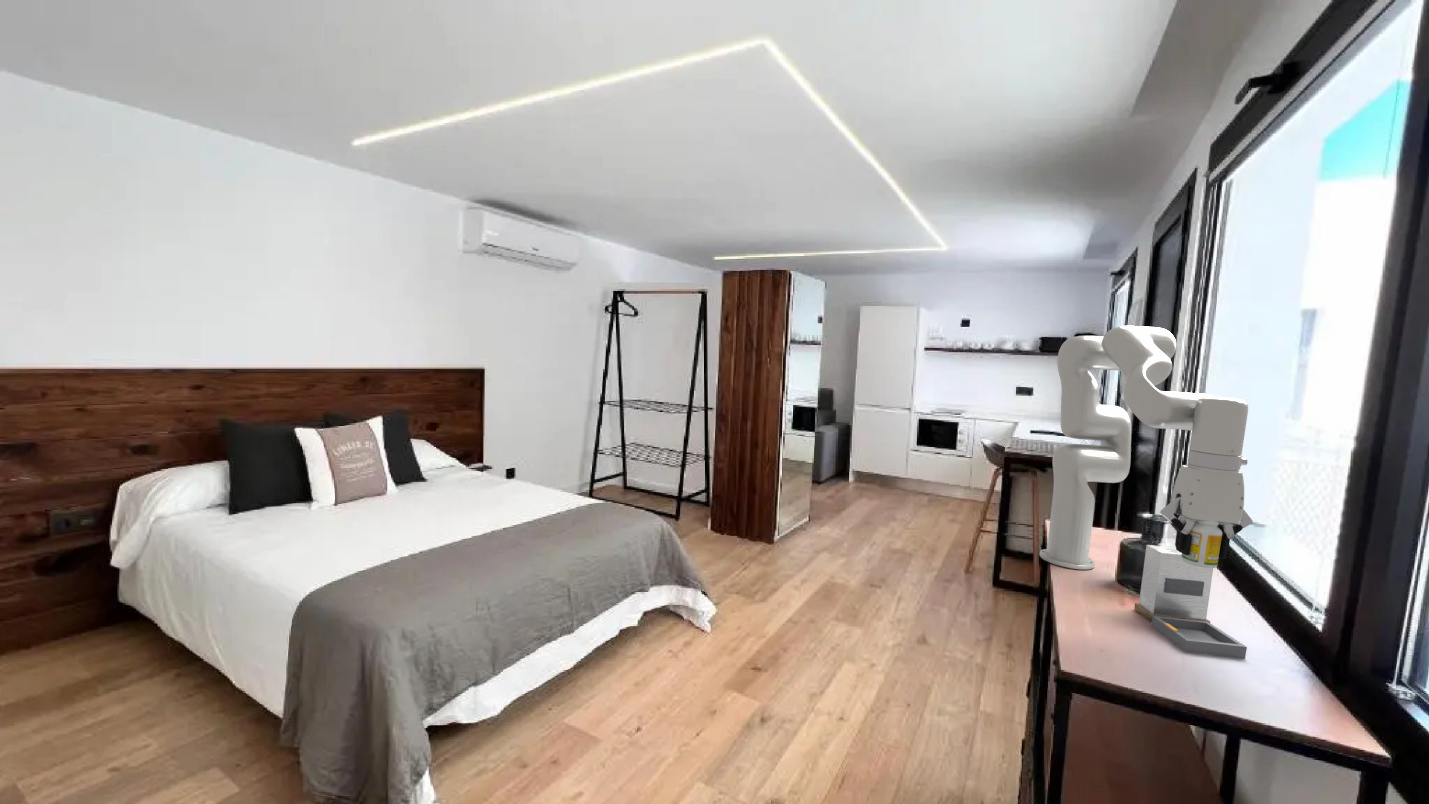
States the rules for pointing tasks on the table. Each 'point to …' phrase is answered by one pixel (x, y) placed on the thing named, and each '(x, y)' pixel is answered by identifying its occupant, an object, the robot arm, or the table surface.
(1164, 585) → the box
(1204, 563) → the supplement bottle
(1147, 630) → the table surface
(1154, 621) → the tray
